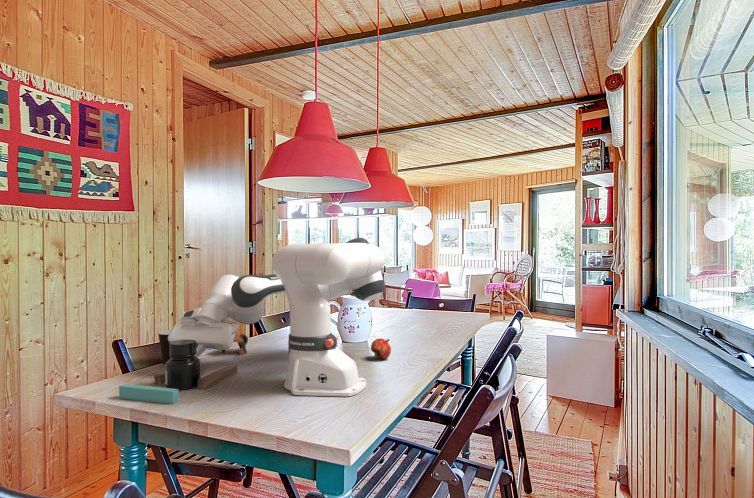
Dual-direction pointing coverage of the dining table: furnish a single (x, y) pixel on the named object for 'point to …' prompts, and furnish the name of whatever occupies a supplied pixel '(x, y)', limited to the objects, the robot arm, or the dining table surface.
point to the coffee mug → (164, 345)
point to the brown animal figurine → (241, 343)
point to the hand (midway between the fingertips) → (189, 359)
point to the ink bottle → (182, 365)
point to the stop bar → (148, 393)
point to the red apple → (380, 348)
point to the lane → (206, 377)
